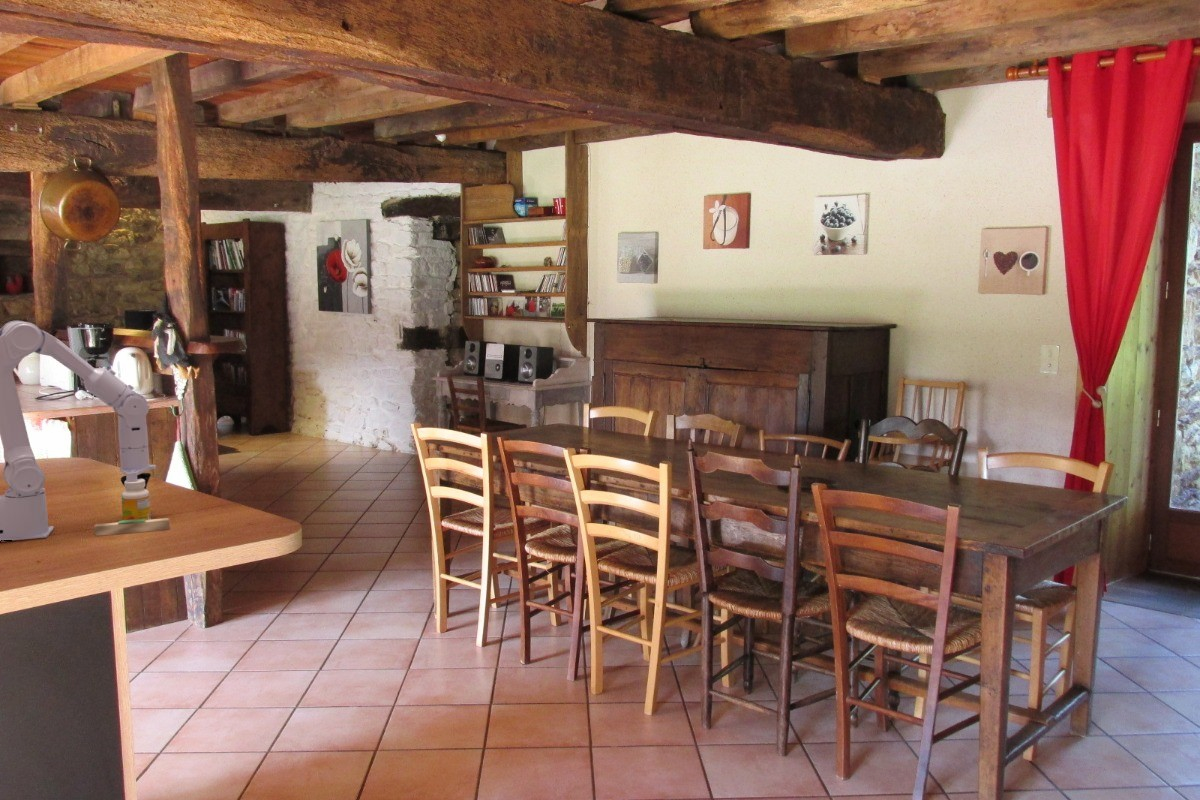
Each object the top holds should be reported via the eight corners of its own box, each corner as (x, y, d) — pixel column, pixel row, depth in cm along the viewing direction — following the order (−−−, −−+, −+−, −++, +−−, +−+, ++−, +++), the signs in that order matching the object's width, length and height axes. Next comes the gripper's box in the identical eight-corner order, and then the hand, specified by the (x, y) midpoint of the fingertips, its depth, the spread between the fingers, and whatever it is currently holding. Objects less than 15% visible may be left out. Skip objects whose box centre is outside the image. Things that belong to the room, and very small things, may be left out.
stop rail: (94, 536, 200) (94, 525, 200) (96, 533, 202) (95, 522, 202) (168, 529, 205) (168, 518, 205) (169, 527, 207) (169, 516, 207)
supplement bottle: (117, 525, 208) (115, 481, 207) (141, 520, 212) (138, 476, 211) (133, 529, 205) (130, 484, 204) (156, 524, 210) (153, 479, 208)
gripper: (150, 451, 207) (154, 513, 209) (157, 440, 220) (161, 499, 222) (113, 453, 205) (118, 516, 206) (122, 442, 218) (126, 501, 220)
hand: (138, 507), depth 214 cm, fingers closed
